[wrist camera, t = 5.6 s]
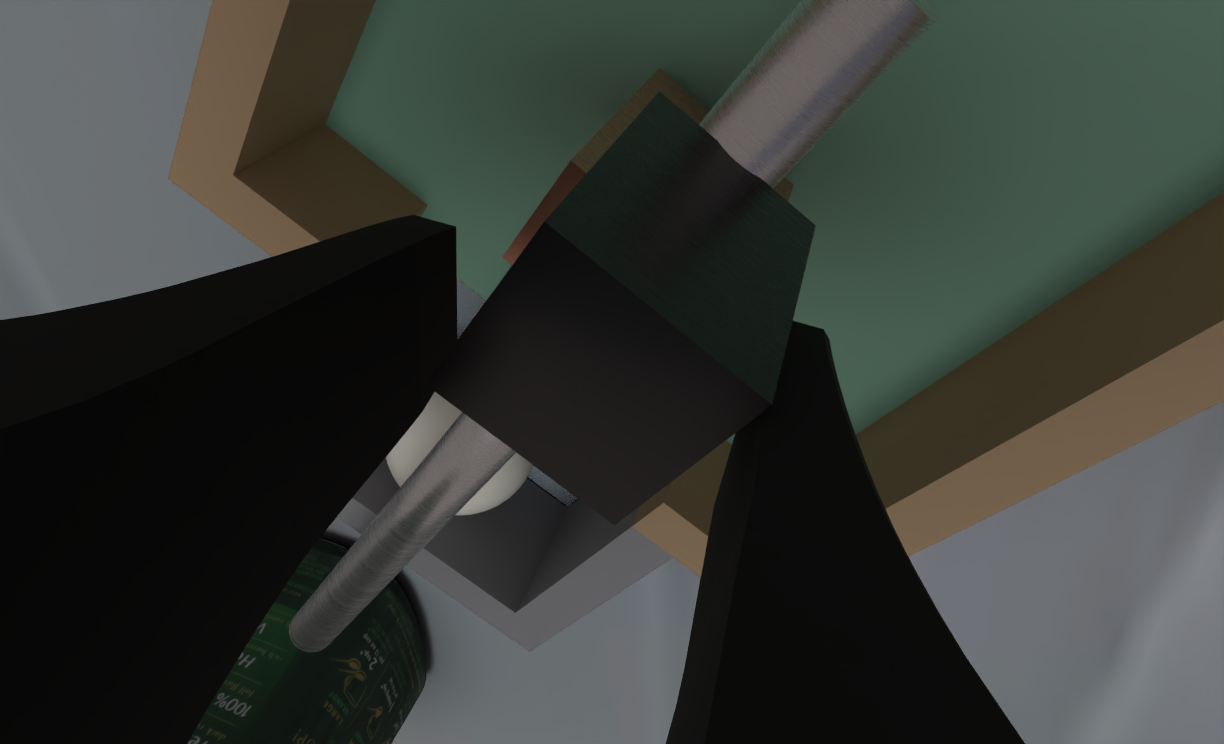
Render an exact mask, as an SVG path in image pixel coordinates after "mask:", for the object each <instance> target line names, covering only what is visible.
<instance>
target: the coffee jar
mask: <svg viewBox="0 0 1224 744" xmlns="http://www.w3.org/2000/svg"><path fill="white" fill-rule="evenodd" d="M347 552H348V549H347V548H345V547H343V546H341V545H339V544H336V543H333V542H330V541H327V540H324V539H321V538H319V539H318V541H317V542H316V543H315V545H314V546H313V547H312V549H311V550H310V551H309V553H308V554H307V555H306V556H305V558H304V559H303V560H302V562H301V563H300V564H299V566H298V567H297V569H296V570H295V572H294V573H293V575H292V576H291V578H290V579H289V581H288V582H287V584H286V586H285V587H284V589H283V590H282V592H281V593H280V595H279V596H278V598H277V599H276V601H275V602H274V604H273V605H272V607H271V608H270V610H269V611H268V613H267V614H266V616H265V617H264V619H263V620H262V622H261V623H260V625H259V626H258V628H257V629H256V631H255V633H254V634H253V636H252V637H251V639H250V641H249V642H248V644H247V645H246V647H245V649H244V650H243V652H242V654H241V655H240V657H239V658H238V660H237V662H236V663H235V665H234V666H233V668H232V670H231V671H230V673H229V674H228V676H227V678H226V679H225V681H224V683H223V684H222V686H221V687H220V689H219V691H218V692H217V694H216V695H215V697H214V699H213V700H212V702H211V704H210V705H209V707H208V709H207V710H206V712H205V714H204V716H203V717H202V719H201V721H200V722H199V724H198V726H197V728H196V729H195V731H194V733H193V735H192V736H191V738H190V740H189V741H188V743H187V744H391V743H392V742H393V740H394V738H395V736H396V735H397V733H398V731H399V730H400V728H401V726H402V725H403V723H404V721H405V720H406V718H407V716H408V714H409V713H410V711H411V709H412V708H413V706H414V704H415V702H416V701H417V699H418V697H419V695H420V693H421V692H422V690H423V688H424V685H425V681H426V657H425V651H424V644H423V641H422V638H421V634H420V630H419V627H418V624H417V621H416V618H415V615H414V613H413V611H412V608H411V606H410V603H409V601H408V599H407V597H406V595H405V593H404V591H403V590H402V588H401V587H400V585H399V584H398V583H397V582H396V581H395V580H394V579H392V580H391V581H390V583H389V584H388V585H387V586H386V587H385V588H384V589H383V590H382V591H381V592H380V593H379V594H378V595H377V596H376V597H375V598H374V599H373V600H372V601H371V602H370V603H369V604H368V605H367V606H366V607H365V608H364V609H363V610H362V611H361V612H360V613H359V614H358V615H357V616H356V617H355V618H354V619H353V621H352V622H351V623H350V624H349V625H348V626H347V627H346V628H345V629H344V630H343V631H342V632H341V633H340V634H339V635H338V636H337V637H336V638H335V639H334V640H333V641H332V642H331V643H330V644H329V645H328V646H327V647H326V648H325V649H323V650H321V651H318V652H313V653H309V652H304V651H302V650H300V649H298V648H297V647H296V646H295V645H294V644H293V643H292V641H291V639H290V636H289V625H290V622H291V620H292V619H293V617H294V616H295V615H296V614H297V612H298V611H299V610H300V609H301V607H302V606H303V605H304V604H305V603H306V601H307V600H308V599H309V598H310V597H311V595H312V594H313V593H314V592H315V590H316V589H317V588H318V587H319V586H320V584H321V583H322V582H323V581H324V580H325V578H326V577H327V576H328V575H329V573H330V572H331V571H332V570H333V569H334V567H335V566H336V565H337V564H338V563H339V561H340V560H341V559H342V558H343V556H344V555H345V554H346V553H347Z"/></svg>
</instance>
